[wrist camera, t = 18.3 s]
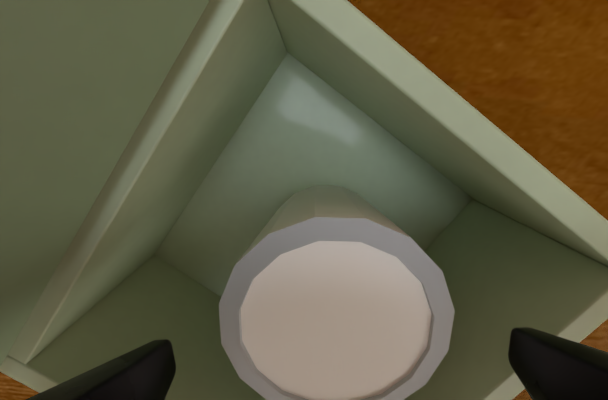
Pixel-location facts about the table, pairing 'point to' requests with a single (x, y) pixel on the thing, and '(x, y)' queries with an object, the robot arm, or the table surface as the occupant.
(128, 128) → the lid
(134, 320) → the chest
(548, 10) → the table surface
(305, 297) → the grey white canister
